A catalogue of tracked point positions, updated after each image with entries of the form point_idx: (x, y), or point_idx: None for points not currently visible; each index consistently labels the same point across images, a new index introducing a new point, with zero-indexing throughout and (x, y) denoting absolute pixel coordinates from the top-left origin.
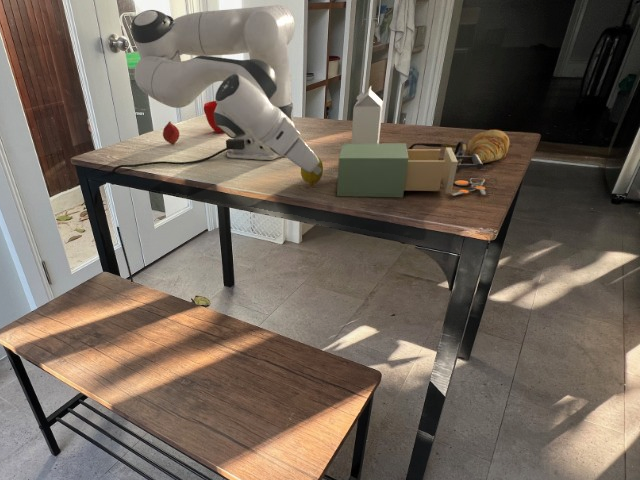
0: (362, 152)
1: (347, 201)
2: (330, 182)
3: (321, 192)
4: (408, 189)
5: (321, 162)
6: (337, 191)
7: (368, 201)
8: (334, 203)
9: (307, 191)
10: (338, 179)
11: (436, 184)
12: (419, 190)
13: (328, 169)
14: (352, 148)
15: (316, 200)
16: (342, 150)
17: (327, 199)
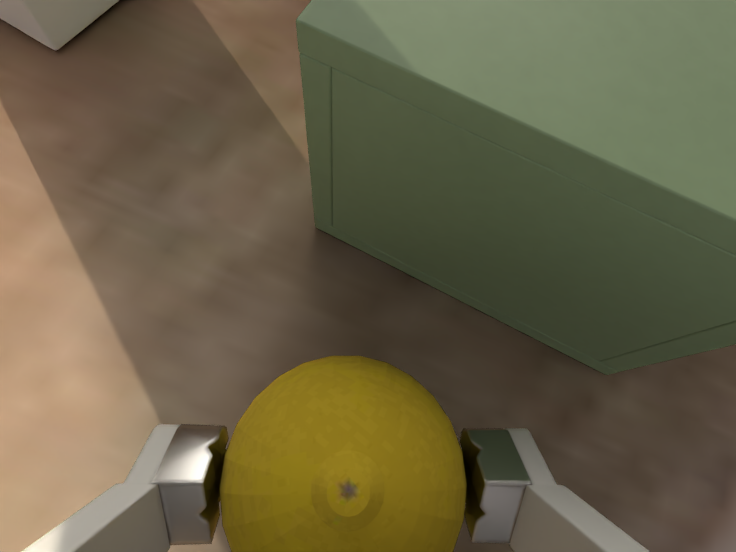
0: (723, 12)
1: (704, 352)
2: (344, 309)
3: None
4: None
5: (404, 376)
6: (625, 369)
7: None
8: (727, 444)
9: (457, 548)
10: (692, 350)
11: None
12: None
13: (83, 214)
14: (542, 21)
15: (655, 549)
16: (588, 133)
17: (650, 461)
